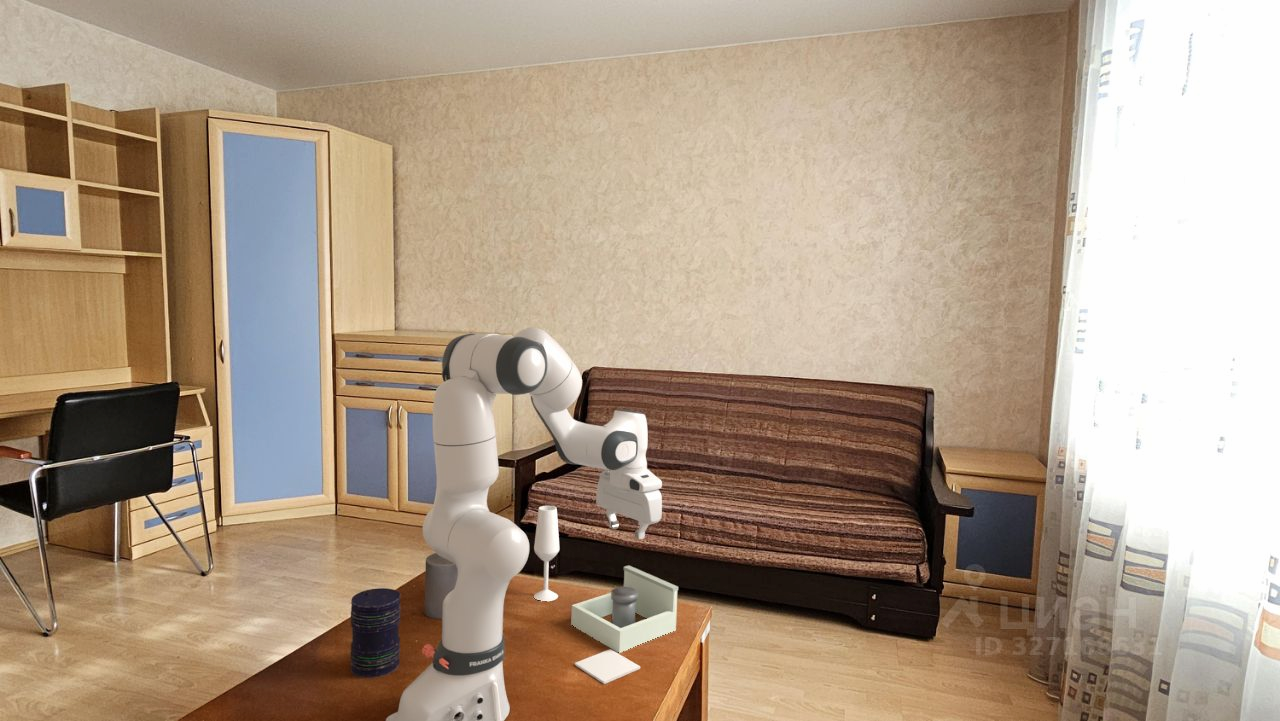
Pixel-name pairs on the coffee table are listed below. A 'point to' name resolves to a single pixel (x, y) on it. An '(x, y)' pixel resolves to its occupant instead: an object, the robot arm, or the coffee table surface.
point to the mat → (607, 666)
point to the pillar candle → (438, 583)
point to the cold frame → (652, 604)
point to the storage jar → (375, 632)
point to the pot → (623, 606)
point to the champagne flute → (546, 545)
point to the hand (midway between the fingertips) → (626, 533)
